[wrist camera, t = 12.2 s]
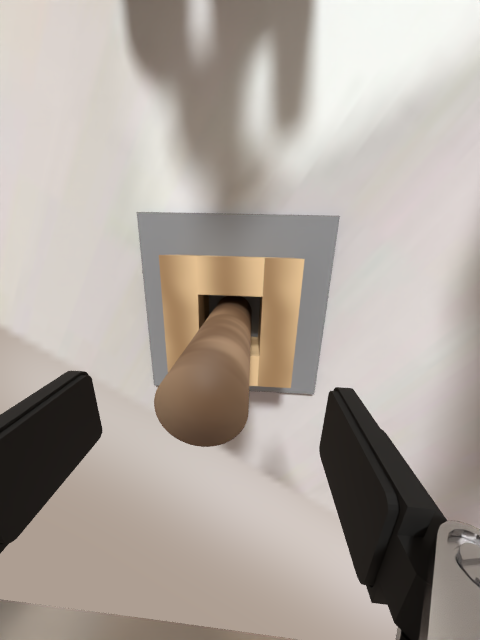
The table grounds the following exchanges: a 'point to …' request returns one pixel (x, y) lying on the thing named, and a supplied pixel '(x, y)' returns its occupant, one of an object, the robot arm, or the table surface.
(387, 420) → the table surface
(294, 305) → the square-hole wood block
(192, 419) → the walnut dowel
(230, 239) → the slate mat
